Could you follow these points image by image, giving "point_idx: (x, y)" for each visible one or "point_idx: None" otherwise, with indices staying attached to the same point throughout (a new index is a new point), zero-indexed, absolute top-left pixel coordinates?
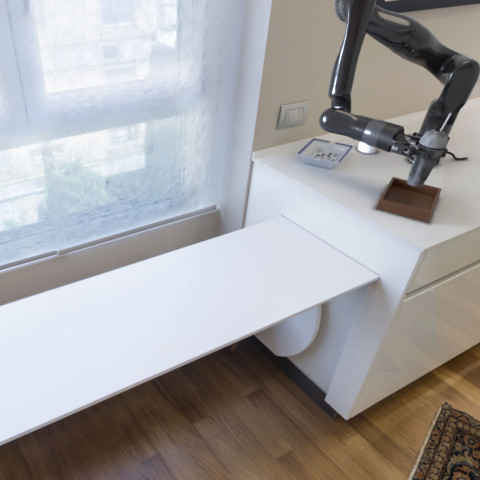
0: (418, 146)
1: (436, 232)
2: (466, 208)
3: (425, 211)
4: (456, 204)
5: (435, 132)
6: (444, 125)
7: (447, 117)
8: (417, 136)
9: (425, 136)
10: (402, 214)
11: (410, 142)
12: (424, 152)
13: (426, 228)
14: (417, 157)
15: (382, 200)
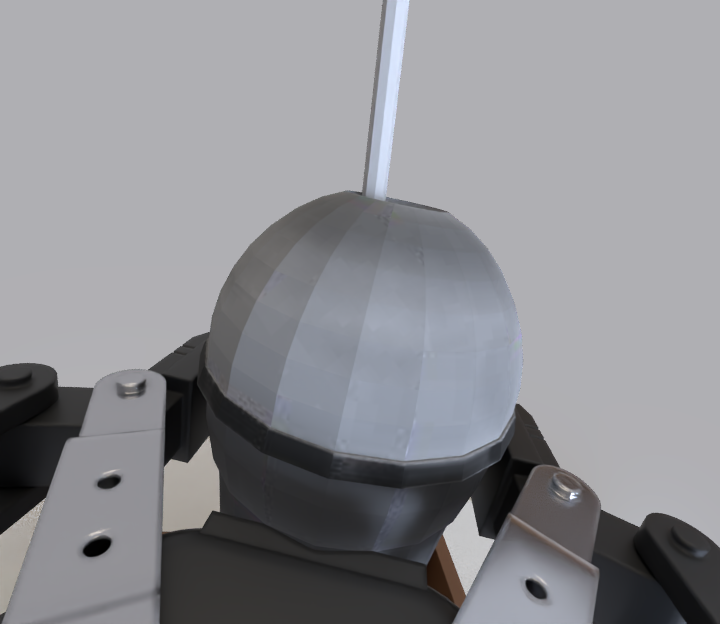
0: (450, 498)
1: (470, 528)
2: (192, 458)
3: (453, 564)
4: (165, 489)
5: (467, 228)
6: (391, 126)
7: (400, 8)
8: (89, 532)
9: (500, 332)
10: None
11: (594, 606)
12: (539, 435)
13: (477, 566)
14: (429, 555)
15: None
